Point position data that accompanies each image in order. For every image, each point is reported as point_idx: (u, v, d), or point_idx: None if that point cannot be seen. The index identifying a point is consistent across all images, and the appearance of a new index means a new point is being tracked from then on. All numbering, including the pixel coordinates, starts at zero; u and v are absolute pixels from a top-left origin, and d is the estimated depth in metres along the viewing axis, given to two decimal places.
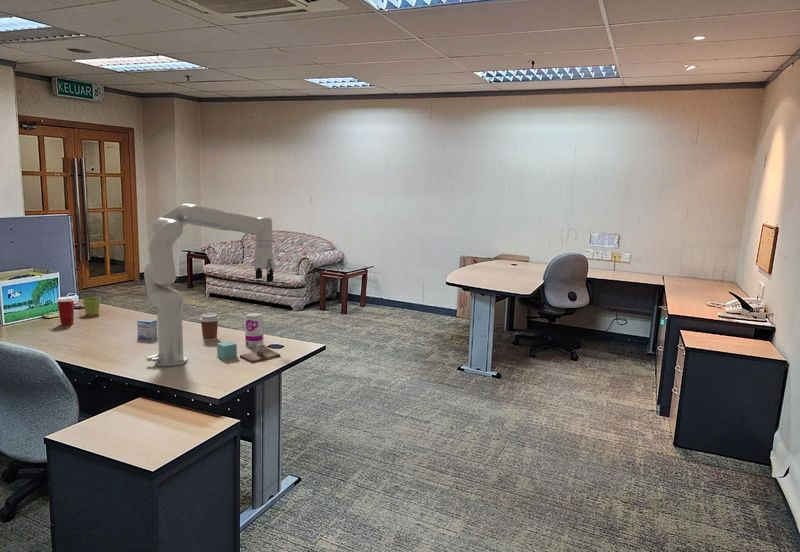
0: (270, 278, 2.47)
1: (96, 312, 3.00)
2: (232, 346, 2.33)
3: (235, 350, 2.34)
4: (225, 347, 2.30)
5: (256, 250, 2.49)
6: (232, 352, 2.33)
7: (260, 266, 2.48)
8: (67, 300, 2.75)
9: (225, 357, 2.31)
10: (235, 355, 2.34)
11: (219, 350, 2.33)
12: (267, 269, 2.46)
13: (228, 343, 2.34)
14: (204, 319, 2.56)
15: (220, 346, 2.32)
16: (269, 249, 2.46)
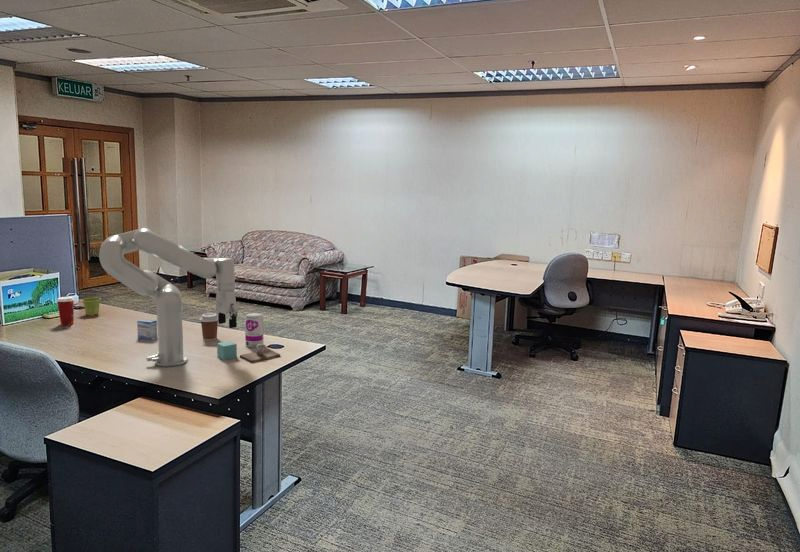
0: (233, 324, 2.28)
1: (96, 312, 3.00)
2: (232, 346, 2.33)
3: (235, 350, 2.34)
4: (225, 347, 2.30)
5: (218, 293, 2.30)
6: (232, 352, 2.33)
7: (222, 311, 2.29)
8: (67, 300, 2.75)
9: (225, 357, 2.31)
10: (235, 355, 2.34)
11: (219, 350, 2.33)
12: (229, 314, 2.27)
13: (228, 343, 2.34)
14: (204, 319, 2.56)
15: (220, 346, 2.32)
16: (231, 293, 2.27)
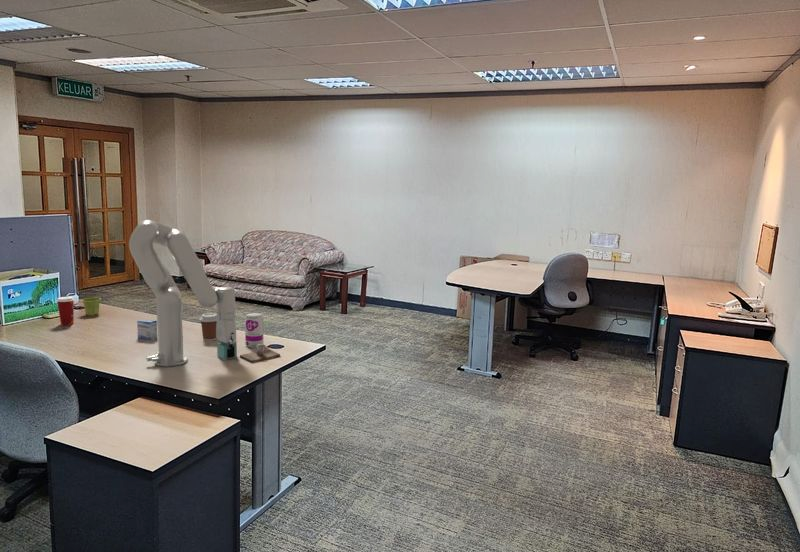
0: (231, 354, 2.31)
1: (96, 312, 3.00)
2: None
3: (235, 350, 2.34)
4: (225, 347, 2.30)
5: (218, 322, 2.32)
6: None
7: (222, 340, 2.30)
8: (67, 300, 2.75)
9: (225, 357, 2.31)
10: (235, 355, 2.34)
11: (219, 350, 2.33)
12: (228, 345, 2.30)
13: None
14: (204, 319, 2.56)
15: (220, 346, 2.32)
16: (231, 322, 2.29)
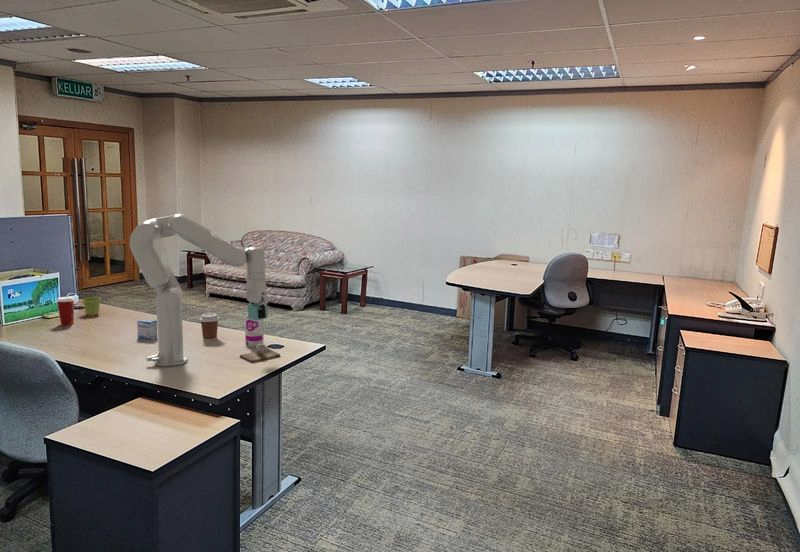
0: (262, 314, 2.30)
1: (96, 312, 3.00)
2: None
3: (266, 311, 2.33)
4: (256, 307, 2.29)
5: (248, 283, 2.30)
6: None
7: (253, 300, 2.29)
8: (67, 300, 2.75)
9: (256, 317, 2.30)
10: (266, 316, 2.33)
11: (250, 311, 2.31)
12: (259, 305, 2.29)
13: None
14: (204, 319, 2.56)
15: (251, 307, 2.30)
16: (262, 282, 2.28)
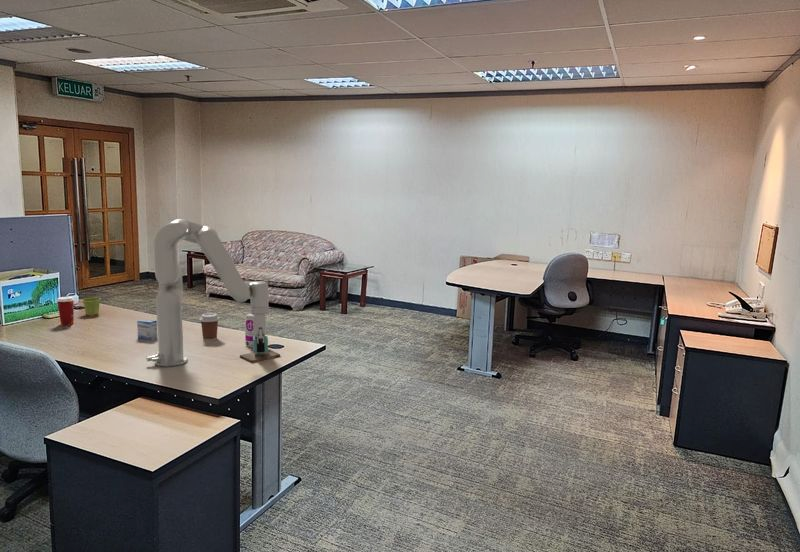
0: (260, 349, 2.31)
1: (96, 312, 3.00)
2: None
3: (266, 345, 2.33)
4: (255, 341, 2.31)
5: None
6: None
7: (253, 333, 2.32)
8: (67, 300, 2.75)
9: (255, 351, 2.32)
10: (266, 350, 2.34)
11: (253, 343, 2.35)
12: (257, 339, 2.31)
13: None
14: (204, 319, 2.56)
15: (253, 339, 2.34)
16: (260, 317, 2.29)
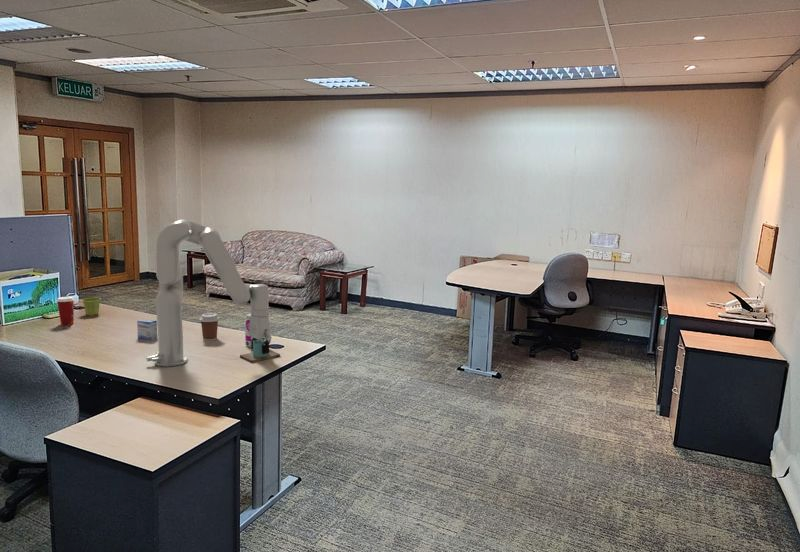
0: (266, 350, 2.32)
1: (96, 312, 3.00)
2: None
3: None
4: (254, 345, 2.32)
5: (252, 319, 2.33)
6: None
7: (255, 336, 2.32)
8: (67, 300, 2.75)
9: (254, 354, 2.32)
10: (265, 354, 2.34)
11: None
12: (263, 341, 2.31)
13: (261, 341, 2.35)
14: (204, 319, 2.56)
15: None
16: (265, 319, 2.30)
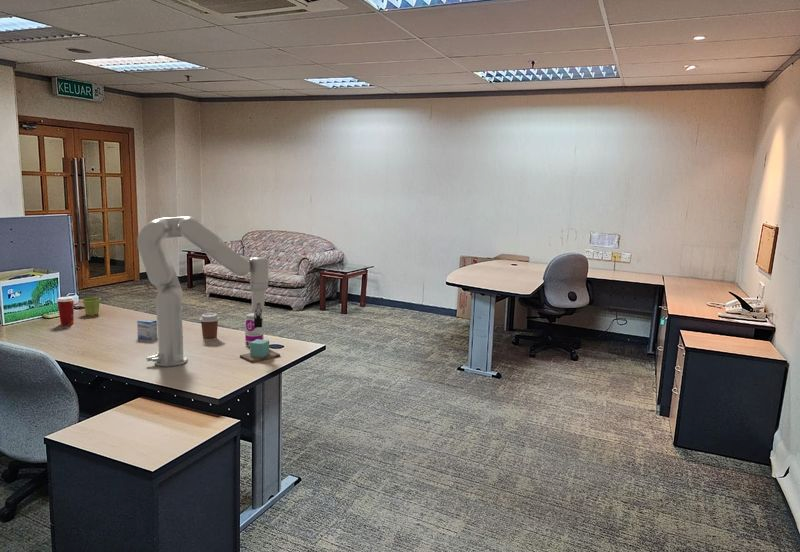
0: (257, 324, 2.28)
1: (96, 312, 3.00)
2: (258, 345, 2.32)
3: (261, 350, 2.32)
4: (251, 344, 2.33)
5: None
6: (258, 350, 2.32)
7: None
8: (67, 300, 2.75)
9: (251, 354, 2.33)
10: (261, 355, 2.32)
11: None
12: (255, 313, 2.28)
13: (260, 341, 2.35)
14: (204, 319, 2.56)
15: None
16: (259, 292, 2.27)
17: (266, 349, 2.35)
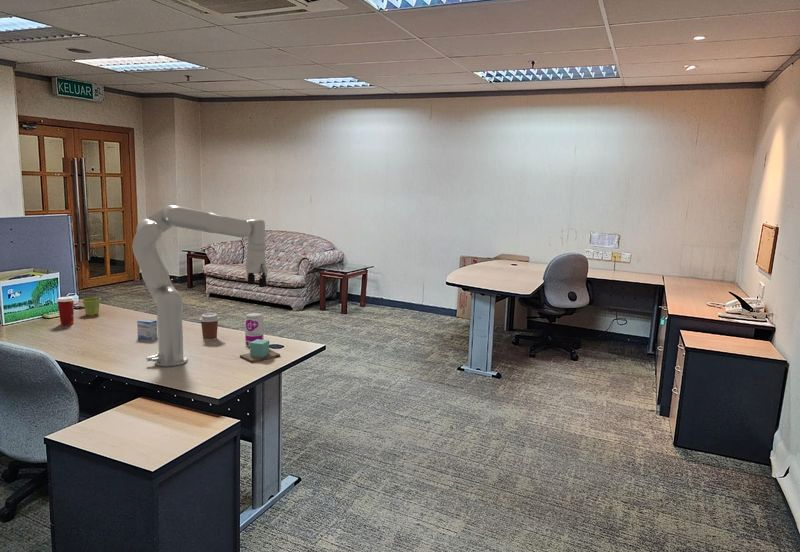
0: (263, 283, 2.36)
1: (96, 312, 3.00)
2: (258, 345, 2.32)
3: (261, 350, 2.32)
4: (251, 344, 2.33)
5: (248, 254, 2.37)
6: (258, 350, 2.32)
7: (252, 271, 2.36)
8: (67, 300, 2.75)
9: (251, 354, 2.33)
10: (261, 355, 2.32)
11: None
12: (259, 274, 2.35)
13: (260, 341, 2.35)
14: (204, 319, 2.56)
15: None
16: (262, 253, 2.35)
17: (266, 349, 2.35)
